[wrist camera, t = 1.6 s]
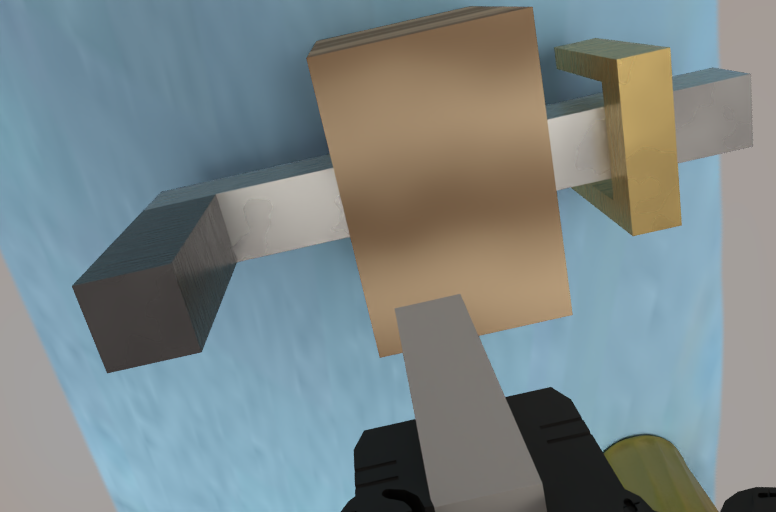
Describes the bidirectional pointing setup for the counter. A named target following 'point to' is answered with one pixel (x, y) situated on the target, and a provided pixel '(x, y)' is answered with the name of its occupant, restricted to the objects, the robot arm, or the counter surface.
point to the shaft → (323, 221)
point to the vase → (657, 475)
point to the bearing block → (446, 166)
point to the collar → (632, 131)
